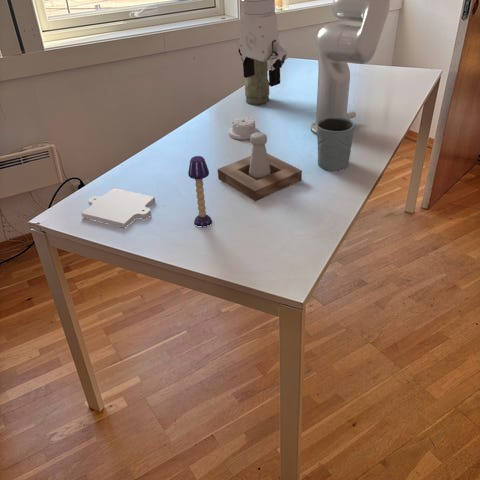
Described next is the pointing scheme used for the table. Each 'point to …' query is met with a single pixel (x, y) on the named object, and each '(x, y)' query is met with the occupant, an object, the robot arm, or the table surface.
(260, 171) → the salt shaker
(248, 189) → the holder board
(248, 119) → the mechanical component
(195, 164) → the toy lamp
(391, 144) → the table surface
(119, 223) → the mounting plate
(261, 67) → the green textured column
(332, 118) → the green embossed cup
